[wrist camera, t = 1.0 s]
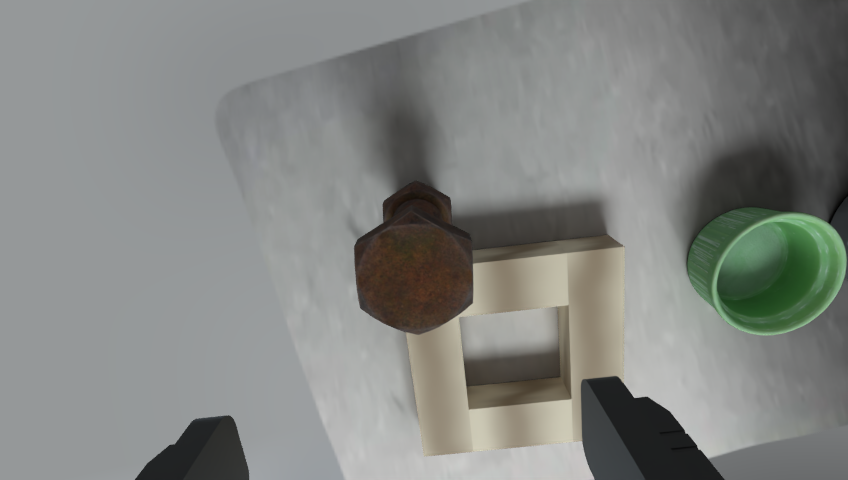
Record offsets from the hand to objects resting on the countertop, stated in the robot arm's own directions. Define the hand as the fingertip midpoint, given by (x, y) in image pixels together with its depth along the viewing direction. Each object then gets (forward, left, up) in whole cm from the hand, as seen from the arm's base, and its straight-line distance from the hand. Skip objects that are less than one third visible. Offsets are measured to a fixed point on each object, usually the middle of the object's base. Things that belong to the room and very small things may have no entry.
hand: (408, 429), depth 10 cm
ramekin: (-24, +7, -25) cm, 35 cm away
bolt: (0, 0, -24) cm, 24 cm away
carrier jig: (-6, +12, -24) cm, 28 cm away
